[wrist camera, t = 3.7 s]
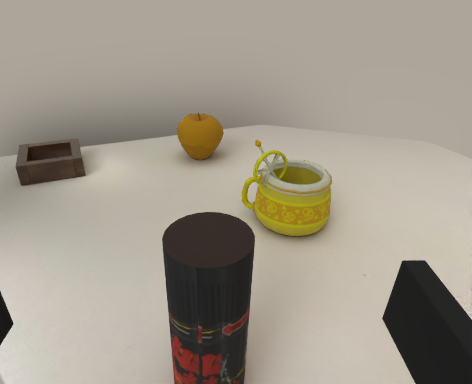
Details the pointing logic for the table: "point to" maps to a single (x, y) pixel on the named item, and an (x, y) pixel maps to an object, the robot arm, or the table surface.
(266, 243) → the table surface
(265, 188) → the mug
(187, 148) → the apple
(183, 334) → the deodorant
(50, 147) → the frame
